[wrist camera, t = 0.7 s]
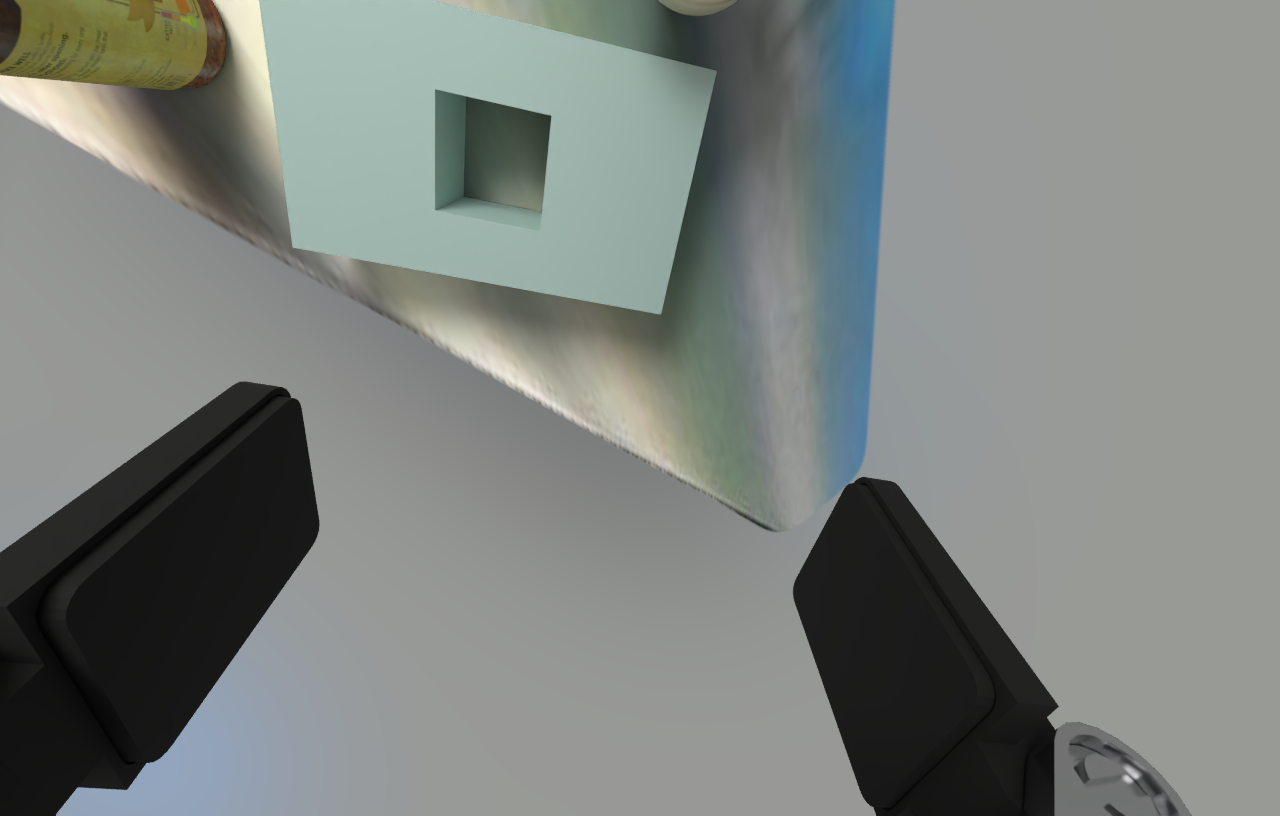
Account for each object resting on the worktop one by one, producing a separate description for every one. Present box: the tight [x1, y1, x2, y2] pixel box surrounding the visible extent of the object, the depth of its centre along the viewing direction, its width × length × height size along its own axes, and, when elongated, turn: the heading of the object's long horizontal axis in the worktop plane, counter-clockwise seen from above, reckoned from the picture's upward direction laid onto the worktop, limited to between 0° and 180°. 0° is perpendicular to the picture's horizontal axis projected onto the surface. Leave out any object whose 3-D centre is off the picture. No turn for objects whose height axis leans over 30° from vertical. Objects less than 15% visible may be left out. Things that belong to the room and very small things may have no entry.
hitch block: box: [259, 0, 717, 315], centre depth 27 cm, size 12×20×6 cm, turn 79°
